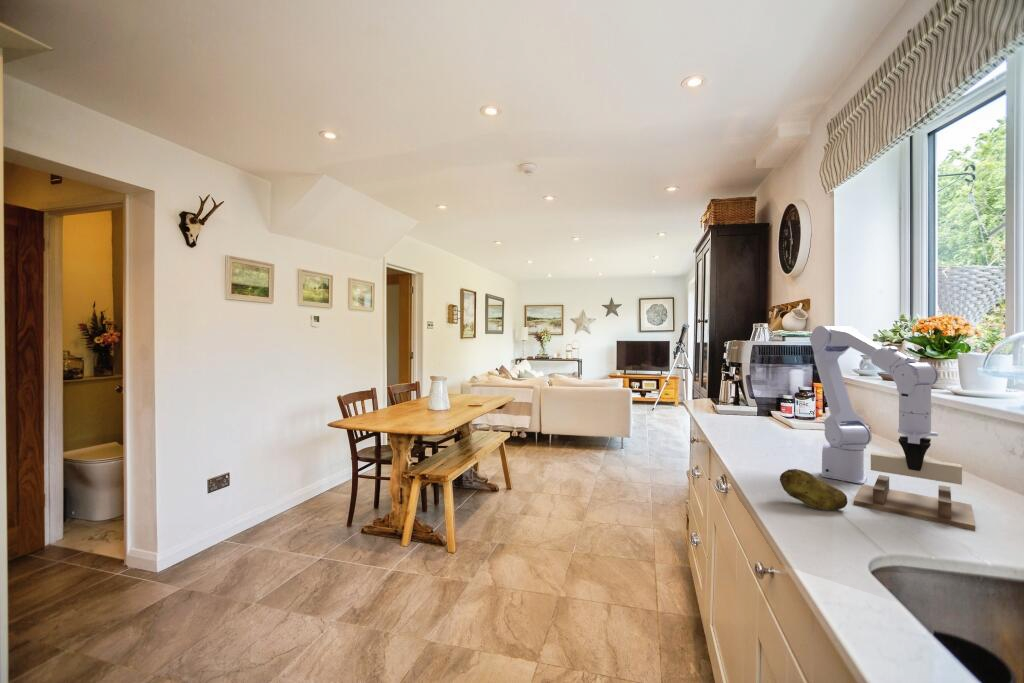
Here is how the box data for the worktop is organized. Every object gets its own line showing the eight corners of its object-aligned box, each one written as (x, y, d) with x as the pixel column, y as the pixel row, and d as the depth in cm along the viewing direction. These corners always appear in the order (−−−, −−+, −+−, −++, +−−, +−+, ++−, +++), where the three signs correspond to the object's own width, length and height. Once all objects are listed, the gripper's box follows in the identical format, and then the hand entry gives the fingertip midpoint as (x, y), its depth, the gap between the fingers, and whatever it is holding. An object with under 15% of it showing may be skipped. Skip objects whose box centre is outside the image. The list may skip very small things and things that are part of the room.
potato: (840, 519, 95) (840, 483, 95) (775, 502, 105) (775, 469, 105) (849, 509, 101) (850, 475, 101) (787, 494, 111) (787, 463, 111)
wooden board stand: (853, 504, 104) (853, 485, 104) (862, 487, 115) (862, 471, 115) (975, 530, 90) (975, 508, 90) (971, 508, 101) (971, 489, 101)
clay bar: (870, 470, 109) (870, 454, 109) (871, 467, 111) (871, 452, 111) (961, 484, 98) (961, 467, 98) (961, 481, 100) (961, 464, 100)
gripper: (938, 418, 96) (938, 478, 96) (937, 410, 107) (937, 465, 107) (896, 414, 101) (895, 472, 101) (899, 407, 112) (899, 459, 112)
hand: (914, 468), depth 104 cm, fingers closed on clay bar, 3 cm apart
